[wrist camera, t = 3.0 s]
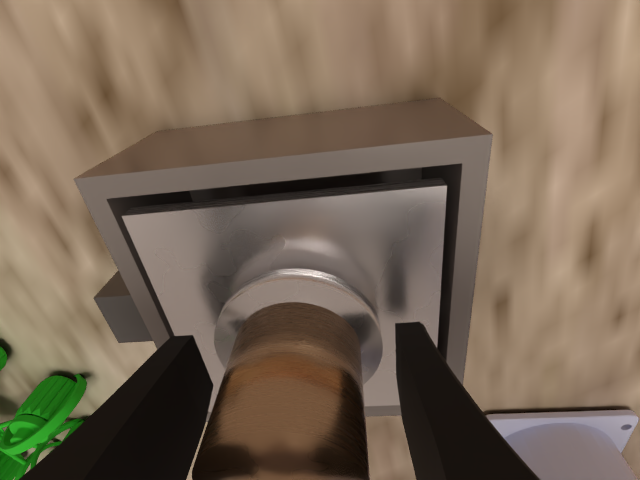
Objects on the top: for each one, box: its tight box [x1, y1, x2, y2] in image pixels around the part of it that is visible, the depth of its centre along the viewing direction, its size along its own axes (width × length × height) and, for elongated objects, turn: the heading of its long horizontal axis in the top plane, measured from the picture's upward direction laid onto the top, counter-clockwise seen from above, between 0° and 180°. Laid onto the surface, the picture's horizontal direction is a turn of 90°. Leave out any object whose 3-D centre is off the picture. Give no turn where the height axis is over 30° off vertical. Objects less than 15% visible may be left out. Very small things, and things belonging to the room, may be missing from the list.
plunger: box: [122, 178, 447, 480], centre depth 9 cm, size 8×8×5 cm
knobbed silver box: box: [74, 98, 493, 422], centre depth 13 cm, size 10×12×5 cm
